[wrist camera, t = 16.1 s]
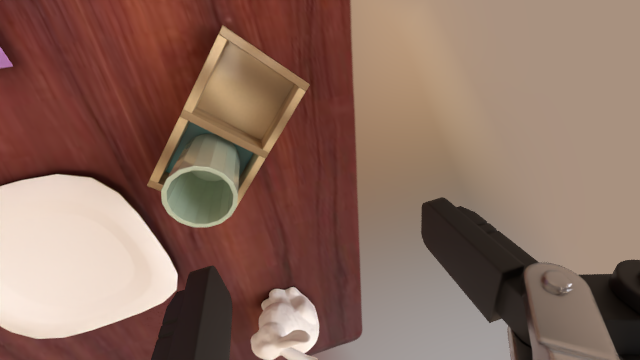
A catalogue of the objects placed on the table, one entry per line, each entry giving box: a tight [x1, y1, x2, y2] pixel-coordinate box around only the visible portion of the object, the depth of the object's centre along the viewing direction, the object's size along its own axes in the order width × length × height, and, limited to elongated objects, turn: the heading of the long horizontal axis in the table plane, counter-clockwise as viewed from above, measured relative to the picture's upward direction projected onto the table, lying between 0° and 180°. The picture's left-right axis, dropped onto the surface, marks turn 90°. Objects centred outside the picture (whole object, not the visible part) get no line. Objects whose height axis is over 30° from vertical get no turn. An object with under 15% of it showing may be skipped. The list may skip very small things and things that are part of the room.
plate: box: [0, 174, 178, 339], centre depth 32 cm, size 22×22×2 cm
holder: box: [147, 26, 310, 217], centre depth 29 cm, size 17×9×3 cm, turn 146°
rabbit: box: [251, 287, 319, 360], centre depth 40 cm, size 12×9×12 cm
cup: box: [161, 134, 240, 227], centre depth 27 cm, size 6×6×9 cm
